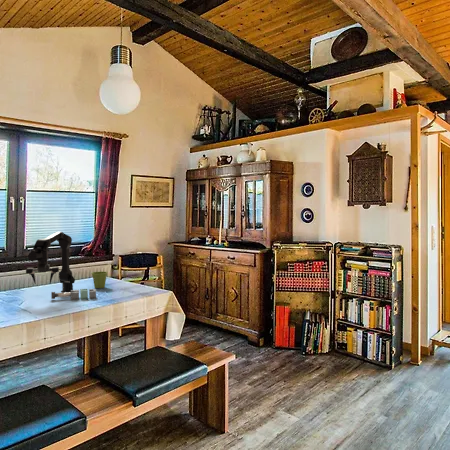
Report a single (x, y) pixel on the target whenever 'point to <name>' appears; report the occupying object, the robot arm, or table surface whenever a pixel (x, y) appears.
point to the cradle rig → (76, 294)
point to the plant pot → (99, 279)
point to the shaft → (60, 295)
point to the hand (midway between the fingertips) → (42, 283)
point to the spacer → (83, 293)
